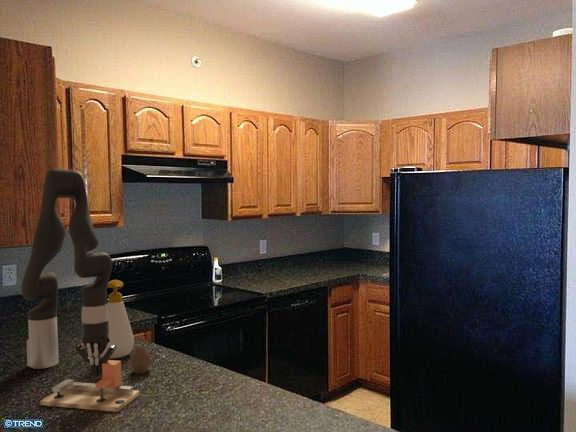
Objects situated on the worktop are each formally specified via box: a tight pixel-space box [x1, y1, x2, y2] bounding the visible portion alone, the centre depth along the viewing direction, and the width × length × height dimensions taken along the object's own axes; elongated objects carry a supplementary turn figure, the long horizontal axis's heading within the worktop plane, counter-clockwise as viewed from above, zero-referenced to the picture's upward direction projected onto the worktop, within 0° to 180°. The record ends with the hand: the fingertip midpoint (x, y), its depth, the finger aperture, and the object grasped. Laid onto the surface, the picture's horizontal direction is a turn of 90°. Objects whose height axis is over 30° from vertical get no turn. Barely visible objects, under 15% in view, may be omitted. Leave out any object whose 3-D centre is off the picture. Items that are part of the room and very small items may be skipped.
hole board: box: [39, 389, 141, 413], centre depth 146 cm, size 25×12×1 cm, turn 78°
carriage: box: [94, 359, 123, 400], centre depth 145 cm, size 4×8×9 cm, turn 168°
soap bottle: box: [103, 279, 135, 360], centre depth 183 cm, size 13×10×29 cm
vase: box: [129, 344, 152, 374], centre depth 168 cm, size 7×7×9 cm
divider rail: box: [51, 378, 134, 397], centre depth 146 cm, size 23×8×3 cm, turn 78°
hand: (97, 376), depth 148 cm, fingers closed
